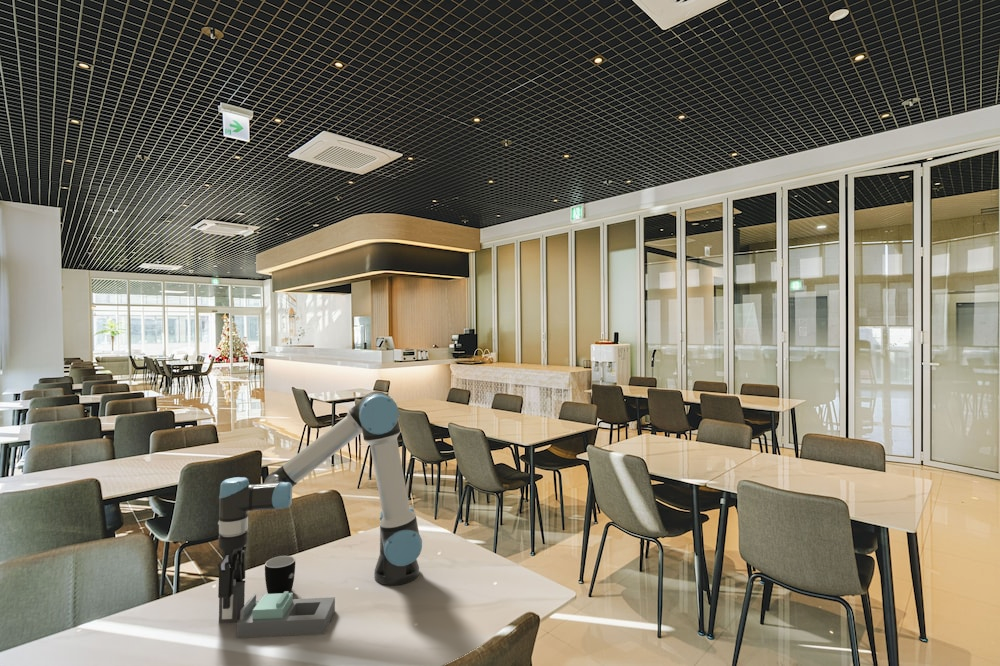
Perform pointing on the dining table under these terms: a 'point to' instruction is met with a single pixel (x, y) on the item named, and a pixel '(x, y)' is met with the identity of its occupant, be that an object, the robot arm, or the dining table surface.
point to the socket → (288, 619)
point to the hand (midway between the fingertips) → (231, 612)
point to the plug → (234, 602)
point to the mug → (279, 574)
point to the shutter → (273, 605)
